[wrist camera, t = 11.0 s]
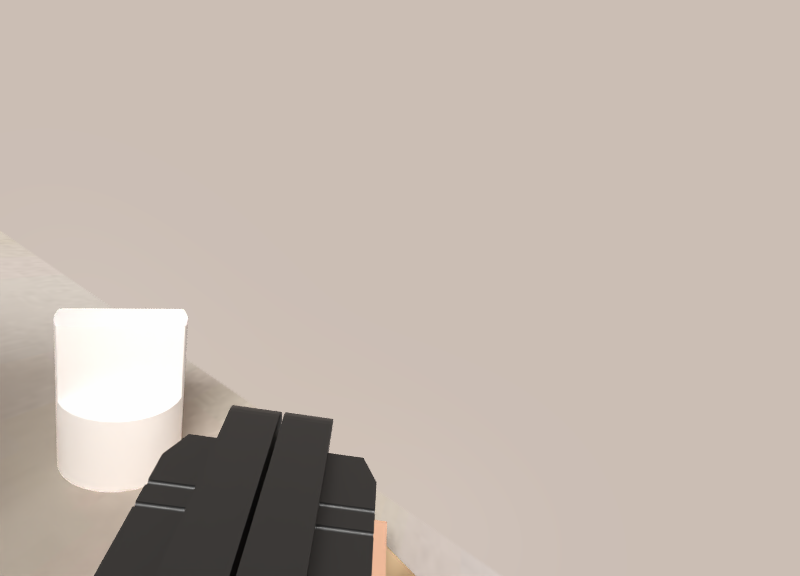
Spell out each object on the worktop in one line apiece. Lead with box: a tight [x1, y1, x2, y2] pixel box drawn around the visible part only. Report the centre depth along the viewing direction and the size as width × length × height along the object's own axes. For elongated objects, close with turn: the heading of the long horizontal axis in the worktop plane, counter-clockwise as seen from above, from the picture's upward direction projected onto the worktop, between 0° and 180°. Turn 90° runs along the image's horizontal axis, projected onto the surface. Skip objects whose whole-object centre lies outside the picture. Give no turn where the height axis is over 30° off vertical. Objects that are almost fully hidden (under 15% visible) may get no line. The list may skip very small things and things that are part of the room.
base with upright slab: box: [54, 308, 188, 492], centre depth 50 cm, size 9×9×12 cm
